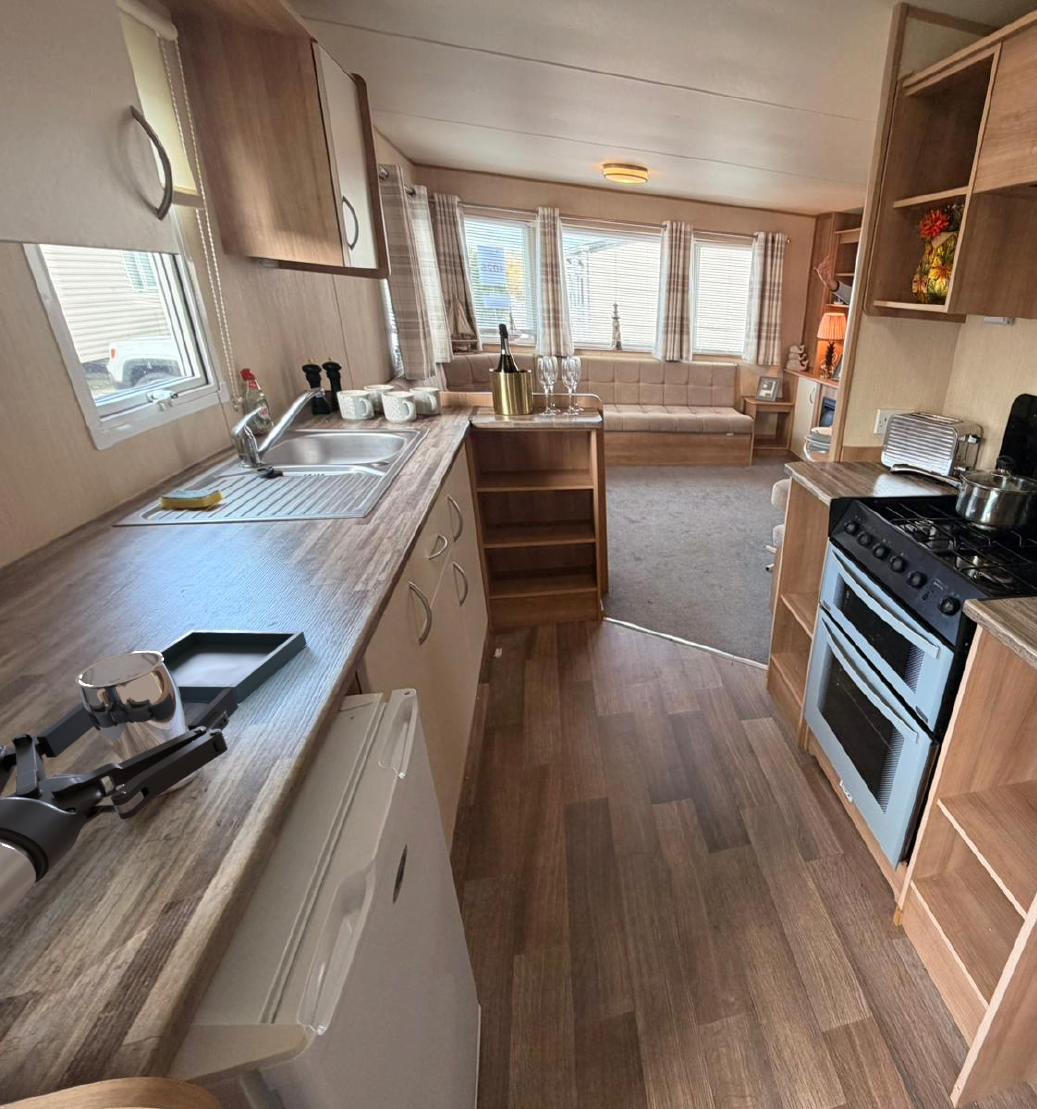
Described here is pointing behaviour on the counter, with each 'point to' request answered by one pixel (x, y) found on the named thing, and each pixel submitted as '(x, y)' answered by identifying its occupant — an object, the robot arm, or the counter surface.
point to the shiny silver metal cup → (134, 704)
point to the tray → (228, 660)
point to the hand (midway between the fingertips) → (165, 702)
